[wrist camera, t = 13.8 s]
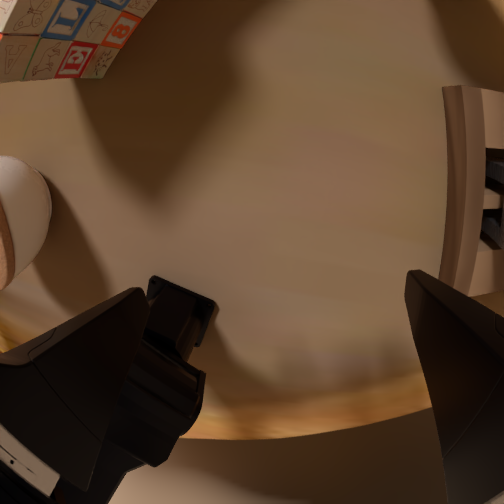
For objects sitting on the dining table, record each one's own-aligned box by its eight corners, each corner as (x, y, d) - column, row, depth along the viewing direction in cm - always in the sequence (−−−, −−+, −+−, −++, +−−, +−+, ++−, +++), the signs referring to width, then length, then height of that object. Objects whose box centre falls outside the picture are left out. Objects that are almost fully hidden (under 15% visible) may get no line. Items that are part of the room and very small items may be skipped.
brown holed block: (438, 280, 22) (450, 299, 19) (442, 87, 15) (461, 85, 12) (515, 268, 19) (530, 284, 17) (528, 102, 13) (549, 105, 10)
